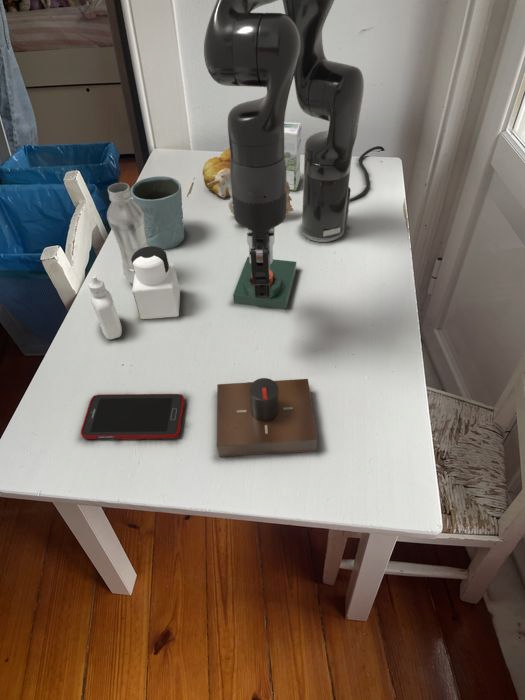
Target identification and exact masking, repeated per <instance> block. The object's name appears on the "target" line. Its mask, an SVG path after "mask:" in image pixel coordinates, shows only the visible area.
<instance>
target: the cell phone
mask: <svg viewBox="0 0 525 700" xmlns="http://www.w3.org/2000/svg"><path fill="white" fill-rule="evenodd" d="M184 407H185V397H184V395H183V394H181V393H132V394H131V393H125V394H123V393H122V394H120V393H119V394H118V393H117V394H112V393H110V394H107V393H106V394H95V395H93V396H92V397H91V399H90V401H89V404H88V407H87V409H86V413H85V416H84V419H83V423H82V425H81V431H80V435H81V437H82V438H83V439H86V440H87V439H88V440H89V439H90V440H91V439H93V440H97V439H115V440H116V439H117V440H120V439H122V440H123V439H126V440H127V439H128V440H129V439H131V440H133V439H134V440H135V439H136V440H137V439H175V438H178V437H179V435H180V432H181V426H182V421H183V420H182V417H183V414H184Z"/></svg>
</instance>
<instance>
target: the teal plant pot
mask: <svg viewBox="0 0 525 700" xmlns="http://www.w3.org/2000/svg"><path fill="white" fill-rule="evenodd" d="M130 191H131V193H132V198H131V199H133V200H134V201H135V202H137V203H138V204H139V205H140V207H141V208H142V210H143V212H144V216H145V228H146V235H147V240H148V244H149V246H155V247H159V248H161V249H163V250H168V249H172V248H175V247H177V246H179V245H180V244H181V243H182V242H183V241H184V240H185V227H184V222H183V219H184V212H183V202H182V201H183V195H182V184H181V183H180V181H179V180H177V179H175V178H173V177H170V176H166V175H165V176H164V175H161V176H159V175H158V176H151V177H146V178H142V179H141V180H139V181H137V182H135V183H134V184H133V185H132V186H131V187H130Z"/></svg>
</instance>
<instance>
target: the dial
mask: <svg viewBox="0 0 525 700" xmlns="http://www.w3.org/2000/svg"><path fill="white" fill-rule="evenodd" d="M274 381H275V380H273V379H271V378H267V377H260V378H257V379H256V380H254V381H252V382H253V383H252V384H251V386H250V402H251V413H252V415H253V416H254V417H255V418H256V419H257V420H260V421H270V420H272V419H274V418H275V417H276V416H277V414H278V386H277V384H276V383H275V382H274Z"/></svg>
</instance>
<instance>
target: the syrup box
mask: <svg viewBox="0 0 525 700" xmlns="http://www.w3.org/2000/svg"><path fill="white" fill-rule="evenodd" d="M301 148H302V123H301V122H291V121H290V122H289V121H285V122H284V156H285V164H286V181H287V182H288V183H289V187H290V190H289V191H293V192H295V191H297V189H298V187H299V184H300V181H301V150H302V149H301Z"/></svg>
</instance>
